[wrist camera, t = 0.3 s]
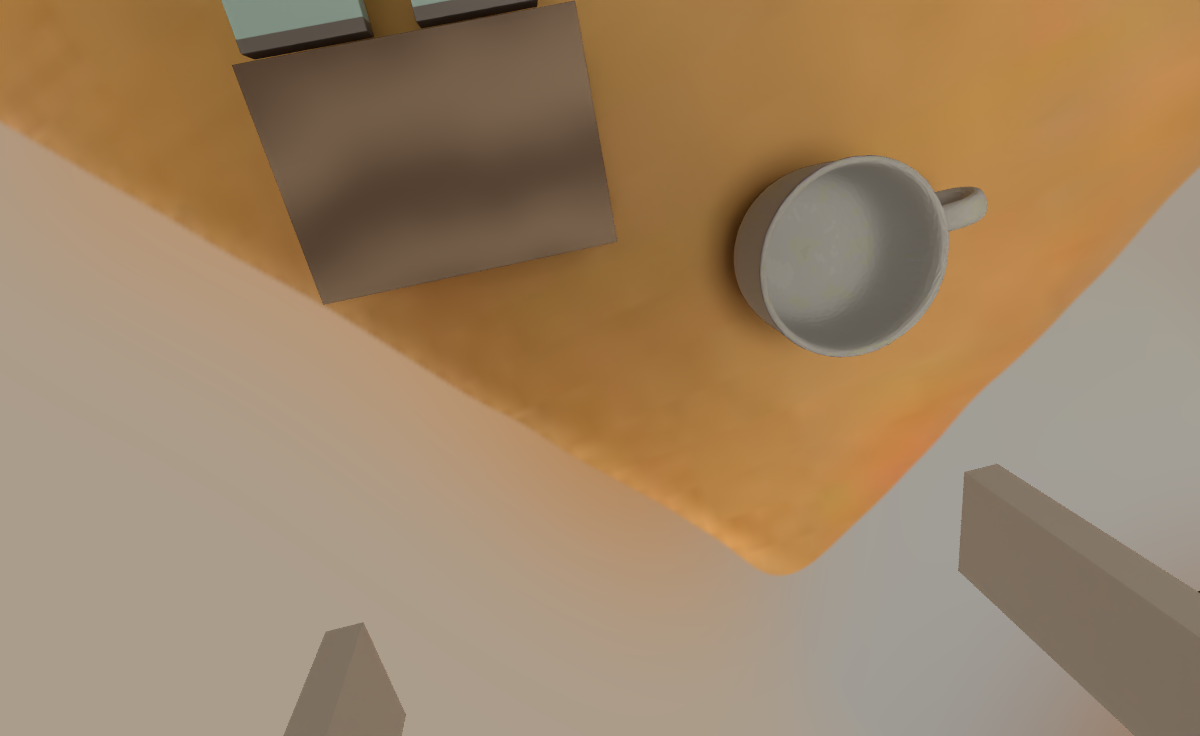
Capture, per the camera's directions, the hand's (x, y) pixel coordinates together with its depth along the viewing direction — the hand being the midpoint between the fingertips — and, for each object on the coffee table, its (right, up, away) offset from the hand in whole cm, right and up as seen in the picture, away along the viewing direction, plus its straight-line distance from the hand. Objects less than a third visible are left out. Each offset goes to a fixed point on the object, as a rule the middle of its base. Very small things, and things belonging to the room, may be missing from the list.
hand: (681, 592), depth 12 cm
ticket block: (-10, +17, +21) cm, 29 cm away
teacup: (+13, +14, +26) cm, 32 cm away
